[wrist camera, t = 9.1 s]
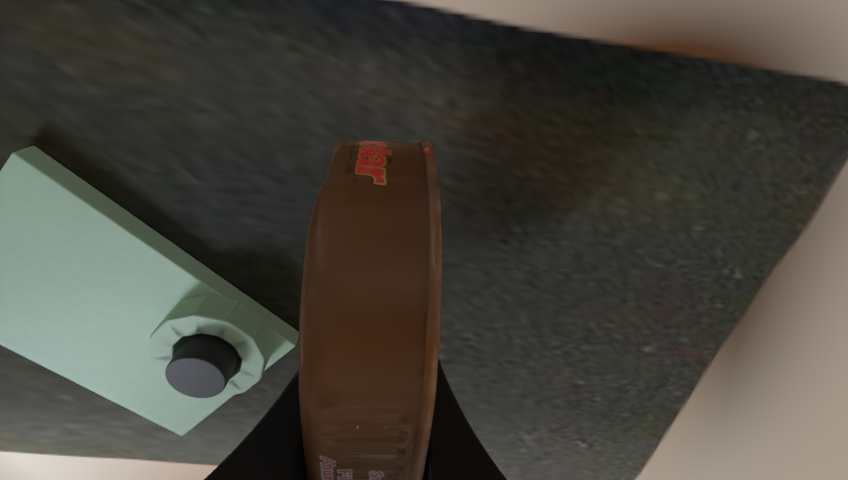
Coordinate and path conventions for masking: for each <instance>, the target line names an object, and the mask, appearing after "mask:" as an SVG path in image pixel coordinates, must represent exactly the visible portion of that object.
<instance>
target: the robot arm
mask: <svg viewBox="0 0 848 480" xmlns="http://www.w3.org/2000/svg"><path fill="white" fill-rule="evenodd" d="M204 480H307V478H306V468H305V458H304V447H303V435H302V424H301V416H300V400H299V370H298V371H297V373H296V374H295V376H294V377H293V379H292V380H291V381H290V383H289V384H288V385H287V387H286V388H285V390H284V391H283V392H282V394H281V395H280V397H279V398H278V399H277V401H276V402H275V403H274V404H273V406H272V407H271V408H270V409H269V411H268V412H267V413H266V414H265V416H264V417H263V418H262V419H261V421H260V422H259V423H258V424H257V425H256V426H255V428H254V429H253V430H252V431H251V432H250V433H249V434H248V436H247V437H246V438H245V439H244V440H243V441H242V442H241V443H240V444H239V445H238V446H237V448H236V449H235V450H234V451H233V452H232V453H231V454H230V455H229V456H228V457H227V458H226V459H225V460H224V461H223V462H222V463H221V464H220V465H219V466H218V467H217V468H216V469H215V470H214V471H213V472H212V473H211V474H210V475H208V476H207V477H206V478H205V479H204ZM422 480H507V479H506V478H505V477H504V475H503V474H502V473H501V472H500V470H499V469H498V467H497V466H496V465H495V463H494V462H493V460H492V459H491V458H490V456H489V455H488V453H487V452H486V450H485V449H484V447H483V446H482V444H481V443H480V441H479V440H478V438H477V436H476V435H475V433H474V431H473V430H472V428H471V426H470V425H469V423H468V421H467V419H466V418H465V416H464V414H463V412H462V410H461V408H460V406H459V404H458V402H457V400H456V398H455V396H454V394H453V392H452V390H451V388H450V386H449V384H448V382H447V379H446V377H445V374H444V372H443V369H442V367H441V364H440V361H439V358H438V370H437V384H436V397H435V406H434V413H433V419H432V426H431V432H430V439H429V443H428V450H427V455H426V461H425V468H424V475H423V479H422Z"/></svg>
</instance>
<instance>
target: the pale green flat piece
mask: <svg viewBox="0 0 848 480" xmlns="http://www.w3.org/2000/svg"><path fill="white" fill-rule="evenodd" d="M197 334H209V335H214V336H218V337H221V338H222V339H224V340H225V341H227V342H229V343H230V344H231V345H232V346H233V347H234V348H235V350H236V352H237V355H238V362H237V365H236V367H235V369H234V371H233V373H232V375H231V377H230V379H229V381H228V383H227V385H226V387H225V389H224V390H223V391H222V392H221V393H219V394H218V395H216V396H213V397H209V398H194V397H190V396H187V395H184V394H182V393H180V392H178V391H176V390H175V389H174V388H173V387H172V386H171V385H170V384H169V383H168V381H167V379H166V376H165V370H166V367H167V365H168V364H169V362H170V361H171V359H172V358H173V356H174V355H175V354H176V352H177V351H178V349H179V348H180V346H181V345H182V343H183V342H184V341H185V340H186V339H187V338H189V337H191V336H194V335H197ZM298 337H299V332H298V331H297V330H296V329H294V328H293V327H291V326H290V325H288V324H287V323H286V322H284V321H283V320H281V319H280V318H278V317H277V316H276V315H274V314H273V313H271V312H270V311H269V310H267V309H266V308H264V307H263V306H261V305H260V304H259V303H257V302H256V301H254V300H253V299H251V298H250V297H249V296H247V295H246V294H244V293H243V292H242V291H240V290H239V289H237V288H236V287H234V286H233V285H232V284H230V283H229V282H227V281H226V280H224V279H223V278H222V277H220V276H219V275H217V274H216V273H215V272H213V271H212V270H210V269H209V268H207V267H206V266H205V265H203V264H202V263H200V262H199V261H197V260H196V259H195V258H193V257H192V256H190V255H189V254H188V253H186V252H185V251H183V250H182V249H180V248H179V247H178V246H176V245H175V244H173V243H172V242H170V241H169V240H168V239H166V238H165V237H163V236H162V235H161V234H159V233H158V232H156V231H155V230H153V229H152V228H151V227H149V226H148V225H146V224H145V223H143V222H142V221H141V220H139V219H138V218H136V217H135V216H134V215H132V214H131V213H129V212H128V211H126V210H125V209H124V208H122V207H121V206H119V205H118V204H116V203H115V202H114V201H112V200H111V199H109V198H108V197H107V196H105V195H104V194H102V193H101V192H99V191H98V190H97V189H95V188H94V187H92V186H91V185H89V184H88V183H87V182H85V181H84V180H82V179H81V178H80V177H78V176H77V175H75V174H74V173H72V172H71V171H70V170H68V169H67V168H65V167H64V166H62V165H61V164H60V163H58V162H57V161H55V160H54V159H53V158H51V157H50V156H48V155H47V154H45V153H44V152H43V151H41V150H40V149H38V148H37V147H35V146H31V147H28V148H25V149H22V150H19V151H16V152H13V153H12V154H11V156H10V157H9V159H8V160H7V162H6V163H5V165H4V166H3V168H2V169H1V171H0V345H2V346H4V347H6V348H8V349H10V350H12V351H14V352H16V353H18V354H20V355H22V356H24V357H26V358H28V359H30V360H32V361H34V362H36V363H38V364H40V365H42V366H44V367H46V368H48V369H50V370H52V371H54V372H56V373H58V374H60V375H62V376H64V377H66V378H68V379H69V380H71V381H73V382H75V383H77V384H79V385H81V386H83V387H85V388H87V389H89V390H91V391H93V392H95V393H97V394H99V395H101V396H103V397H105V398H107V399H109V400H111V401H113V402H115V403H117V404H119V405H121V406H123V407H125V408H127V409H129V410H131V411H133V412H135V413H137V414H139V415H141V416H143V417H145V418H147V419H149V420H151V421H153V422H155V423H157V424H159V425H161V426H163V427H165V428H167V429H169V430H171V431H173V432H175V433H177V434H179V435H181V436H183V435H185V434H186V433H187V432H188V431H190V430H191V429H192V428H193V427H195V426H196V425H197V424H198V423H200V422H201V421H202V420H203V419H205V418H206V417H207V416H208V415H210V414H211V413H212V412H213V411H215V410H216V409H217V408H218V407H220V406H221V405H222V404H223V403H225V402H226V401H227V400H228V399H230V398H231V397H232V396H233V395H235V394H239V393H243V392H245V391H246V390H248V389H249V388H250V387H252V386H253V385H254V384H255V383H257V382H258V381H259V380H260V379H261V377H262V375H263V373H264V371H265V370H266V369H267V368H269V367H270V366H271V365H272V364H274V363H275V362H276V361H277V360H279V359H280V358H281V357H282V356H284V355H285V354H286V353H287V352H289V351H290V350H291V349H292V348H294V347H295V346H296V343H297V340H298Z"/></svg>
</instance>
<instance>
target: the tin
mask: <svg viewBox="0 0 848 480" xmlns="http://www.w3.org/2000/svg"><path fill="white" fill-rule="evenodd" d="M441 275H442V235H441V206H440V192H439V184H438V175H437V167H436V158H435V154H434V152H433V147H432V145H431V143H430V142H428V141H421V142H419V143H417V144H409V143H392V142H379V141H362V140H355V141H344V142H341V143H339V144H338V145H337V147H336V148H335V150H334V153H333V158H332V161H331V164H330V167H329V170H328V174H327V177H326V179H325V181H324V183H323V185H322V187H321V188H320V190H319V193H318V195H317V198H316V201H315V204H314V207H313V210H312V213H311V217H310V223H309V229H308V235H307V241H306V250H305V260H304V270H303V280H302V290H301V301H300V319H299V400H300V416H301V424H302V435H303V447H304V458H305V468H306V478H307V480H422V479H423V475H424V468H425V461H426V455H427V450H428V443H429V439H430V432H431V426H432V419H433V413H434V406H435V397H436V384H437V370H438V354H439V345H440V314H441V312H440V305H441Z"/></svg>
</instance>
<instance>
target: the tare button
mask: <svg viewBox="0 0 848 480" xmlns="http://www.w3.org/2000/svg"><path fill="white" fill-rule="evenodd" d="M237 362H238V355H237V352H236V350H235V348H234V347H233V346H232V345H231V344H230V343H229V342H227V341H225V340H224V339H222V338H221V337H218V336H214V335H209V334H197V335H194V336H191V337H189V338H187V339H186V340H185V341H184V342H183V343H182V345H181V346H180V348H179V349H178V351H177V352H176V354H175V355H174V356H173V358H172V359H171V361H170V362H169V364H168V365H167V367H166V370H165V376H166V379H167V381H168V383H169V384H170V385H171V386H172V387H173V388H174V389H175V390H176V391H178V392H180V393H182V394H184V395H187V396H190V397H194V398H209V397H213V396H216V395H218V394H219V393H221V392H222V391H223V390H224V389H225V387H226V385H227V383H228V381H229V379H230V377H231V375H232V373H233V371H234V369H235V367H236V365H237Z"/></svg>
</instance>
